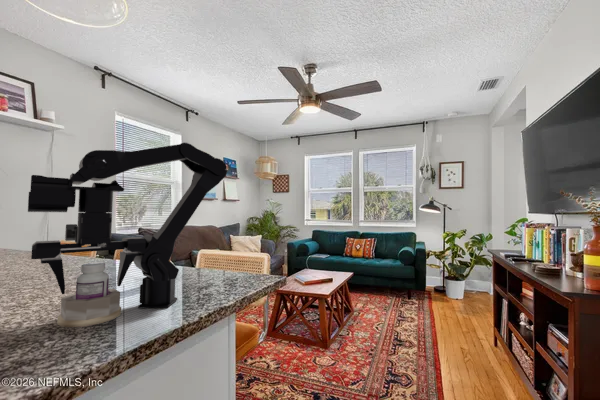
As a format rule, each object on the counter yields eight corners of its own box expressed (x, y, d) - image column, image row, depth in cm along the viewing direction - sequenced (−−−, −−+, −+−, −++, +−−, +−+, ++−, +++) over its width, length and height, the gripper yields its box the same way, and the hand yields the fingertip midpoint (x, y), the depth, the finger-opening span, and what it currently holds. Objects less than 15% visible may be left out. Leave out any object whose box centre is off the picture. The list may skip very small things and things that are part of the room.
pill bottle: (86, 308, 61) (88, 261, 61) (112, 307, 61) (114, 261, 62) (68, 317, 55) (70, 266, 56) (97, 316, 56) (99, 266, 56)
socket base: (130, 308, 64) (131, 287, 64) (102, 326, 53) (103, 302, 54) (81, 309, 63) (82, 288, 63) (42, 327, 53) (43, 302, 53)
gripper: (136, 213, 71) (134, 276, 71) (34, 212, 59) (30, 289, 58) (149, 213, 63) (147, 285, 62) (33, 212, 51) (28, 302, 50)
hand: (92, 289), depth 58 cm, fingers open, 9 cm apart
